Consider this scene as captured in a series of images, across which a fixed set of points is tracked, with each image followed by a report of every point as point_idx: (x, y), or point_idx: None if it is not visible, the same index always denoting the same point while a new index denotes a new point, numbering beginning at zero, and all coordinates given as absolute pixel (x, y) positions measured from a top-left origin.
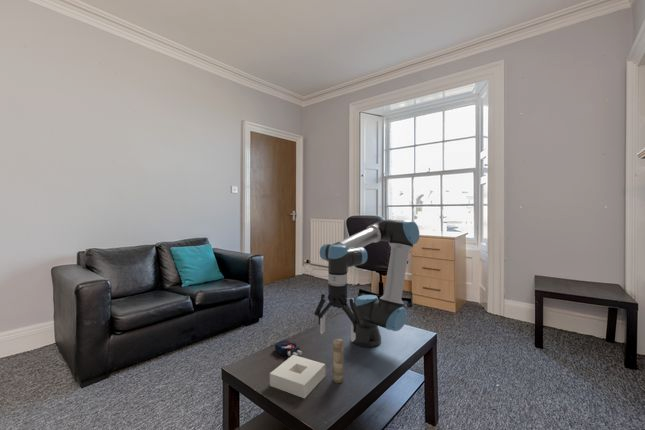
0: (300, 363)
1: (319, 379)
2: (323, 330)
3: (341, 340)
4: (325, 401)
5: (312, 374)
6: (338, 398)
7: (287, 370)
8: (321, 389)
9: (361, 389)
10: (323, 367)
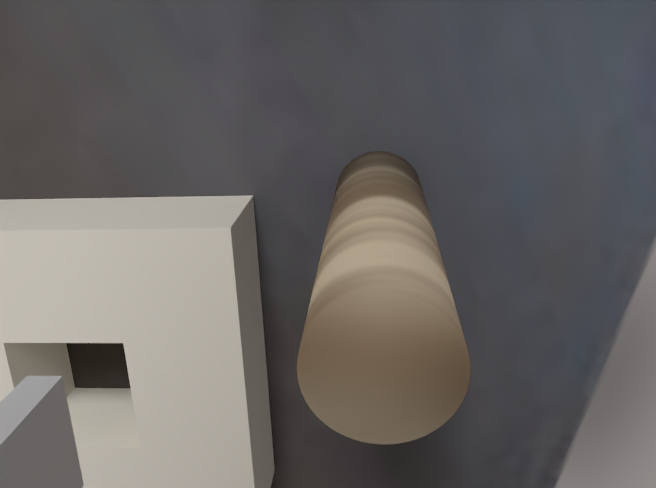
0: (32, 327)
1: (256, 298)
2: (47, 466)
3: (426, 328)
4: None
5: (229, 414)
6: (474, 378)
7: None
8: None
9: (602, 214)
10: (237, 255)
